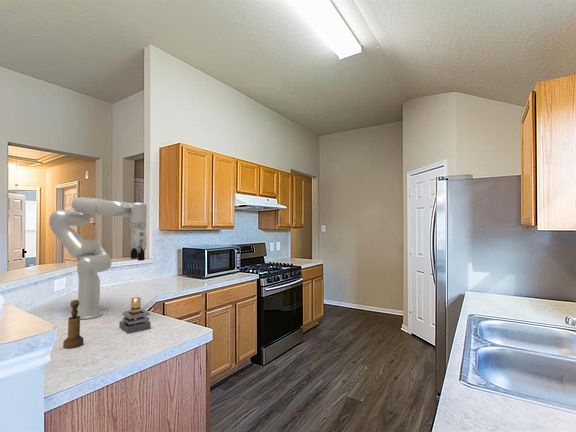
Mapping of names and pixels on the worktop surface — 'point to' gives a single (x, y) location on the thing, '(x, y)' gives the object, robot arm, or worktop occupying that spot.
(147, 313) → the bracket
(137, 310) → the copper tube
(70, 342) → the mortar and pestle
